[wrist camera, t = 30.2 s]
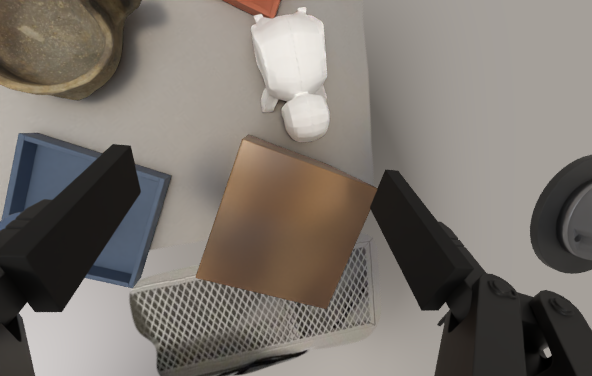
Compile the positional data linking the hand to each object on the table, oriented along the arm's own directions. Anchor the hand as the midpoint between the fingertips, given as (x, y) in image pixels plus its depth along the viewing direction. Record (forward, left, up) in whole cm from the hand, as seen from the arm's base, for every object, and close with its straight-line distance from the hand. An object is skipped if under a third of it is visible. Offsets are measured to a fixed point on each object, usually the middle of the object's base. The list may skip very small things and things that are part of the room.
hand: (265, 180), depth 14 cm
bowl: (+22, -5, -21) cm, 31 cm away
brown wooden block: (-4, +5, -21) cm, 22 cm away
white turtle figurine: (-1, -9, -21) cm, 23 cm away
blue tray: (+17, +15, -21) cm, 31 cm away
